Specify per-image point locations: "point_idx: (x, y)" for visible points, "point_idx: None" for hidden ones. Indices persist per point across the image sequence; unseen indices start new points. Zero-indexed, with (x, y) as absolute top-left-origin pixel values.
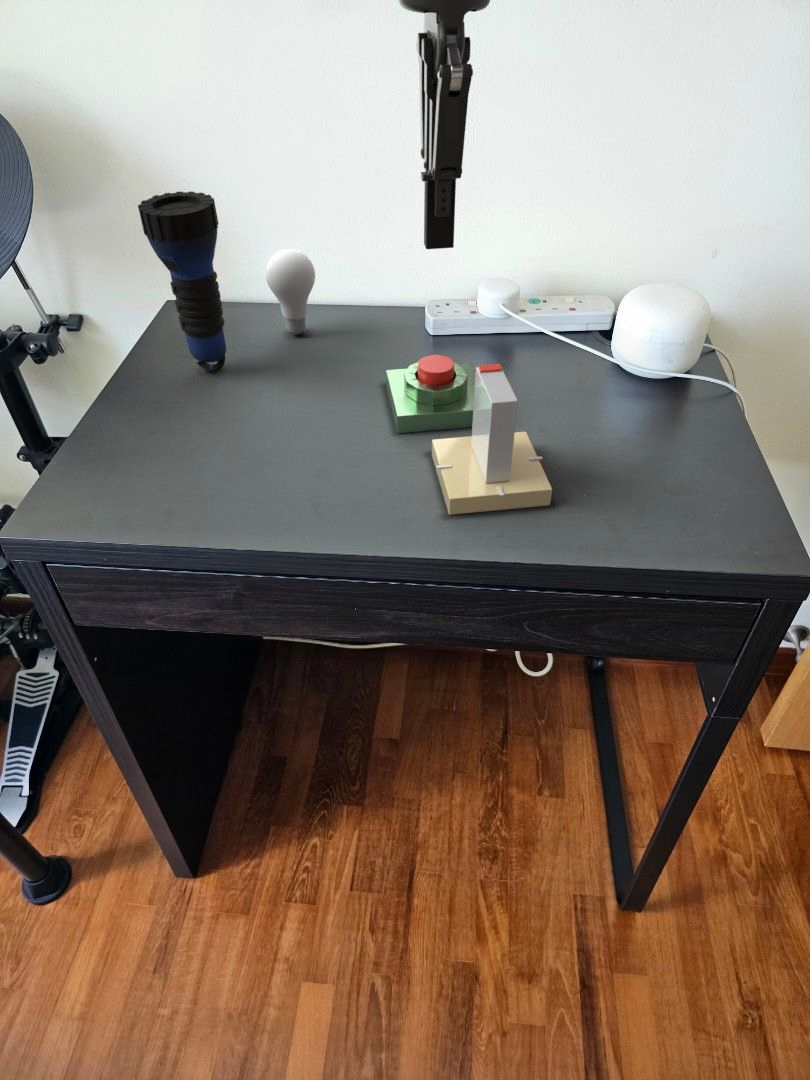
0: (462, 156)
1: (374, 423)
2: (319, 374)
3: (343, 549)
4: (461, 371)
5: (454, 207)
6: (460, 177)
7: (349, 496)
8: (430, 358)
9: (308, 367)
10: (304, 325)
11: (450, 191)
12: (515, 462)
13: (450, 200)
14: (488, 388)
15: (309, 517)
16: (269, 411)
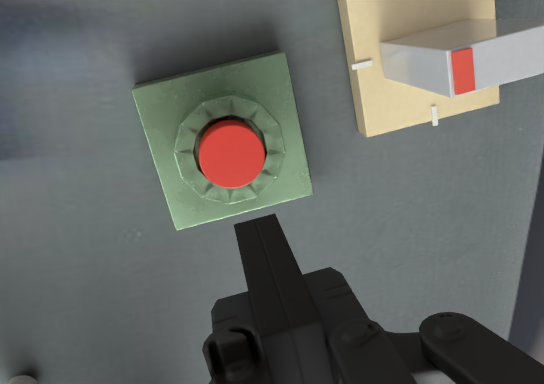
0: (540, 365)
1: (281, 219)
2: (153, 319)
3: (528, 211)
4: (214, 107)
5: (297, 266)
6: (456, 313)
7: (440, 222)
8: (214, 168)
9: (134, 338)
10: (22, 380)
11: (364, 311)
12: (426, 8)
13: (351, 293)
14: (525, 72)
15: (474, 256)
16: None
